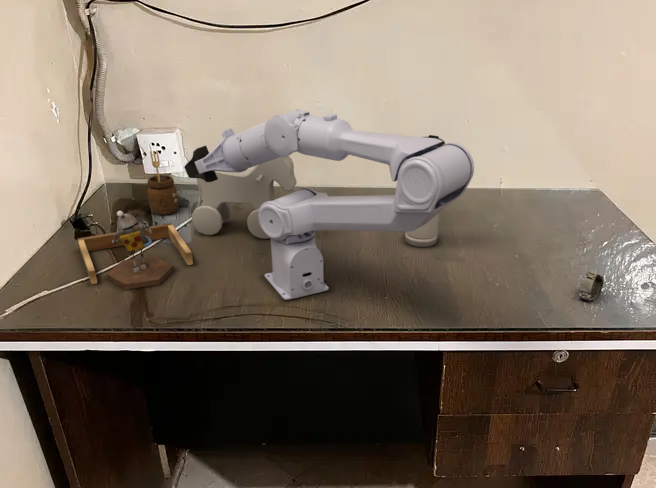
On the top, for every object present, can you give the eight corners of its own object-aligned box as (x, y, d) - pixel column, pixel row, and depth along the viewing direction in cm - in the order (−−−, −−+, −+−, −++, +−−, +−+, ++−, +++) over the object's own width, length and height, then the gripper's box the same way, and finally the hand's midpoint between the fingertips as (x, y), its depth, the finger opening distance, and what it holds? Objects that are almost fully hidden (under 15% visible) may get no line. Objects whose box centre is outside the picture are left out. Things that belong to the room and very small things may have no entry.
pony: (301, 224, 128) (299, 143, 119) (291, 245, 119) (288, 158, 110) (206, 218, 129) (197, 137, 121) (189, 238, 120) (178, 152, 112)
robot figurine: (173, 258, 112) (164, 195, 106) (178, 282, 105) (168, 215, 99) (107, 267, 109) (94, 202, 103) (107, 291, 101) (93, 223, 95)
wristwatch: (595, 306, 104) (605, 279, 104) (587, 296, 100) (598, 268, 100) (577, 302, 106) (588, 275, 106) (569, 291, 102) (580, 264, 102)
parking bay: (193, 264, 110) (191, 251, 109) (91, 284, 103) (88, 271, 102) (173, 234, 121) (171, 222, 120) (79, 250, 114) (77, 238, 113)
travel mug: (441, 237, 123) (450, 137, 113) (430, 250, 118) (439, 146, 108) (412, 231, 126) (418, 132, 116) (400, 243, 120) (405, 141, 110)
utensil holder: (153, 217, 129) (144, 160, 123) (147, 207, 133) (138, 152, 127) (182, 213, 131) (174, 157, 125) (175, 203, 136) (168, 149, 130)
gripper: (275, 112, 103) (226, 132, 112) (209, 133, 93) (161, 154, 102) (291, 153, 105) (242, 170, 114) (228, 178, 94) (179, 195, 103)
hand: (205, 165), depth 108 cm, fingers open, 7 cm apart
